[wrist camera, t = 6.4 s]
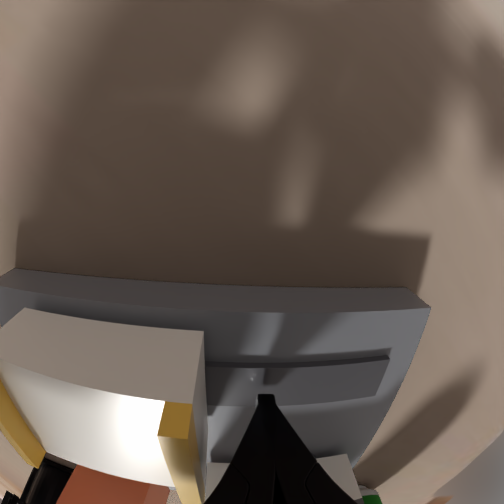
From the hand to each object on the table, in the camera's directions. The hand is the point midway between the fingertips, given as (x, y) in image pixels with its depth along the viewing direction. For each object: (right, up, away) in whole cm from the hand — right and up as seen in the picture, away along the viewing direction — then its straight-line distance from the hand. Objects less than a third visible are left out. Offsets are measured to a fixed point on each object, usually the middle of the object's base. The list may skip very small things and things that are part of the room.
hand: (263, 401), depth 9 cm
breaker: (-5, 0, 0) cm, 6 cm away
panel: (-3, -3, +4) cm, 6 cm away
